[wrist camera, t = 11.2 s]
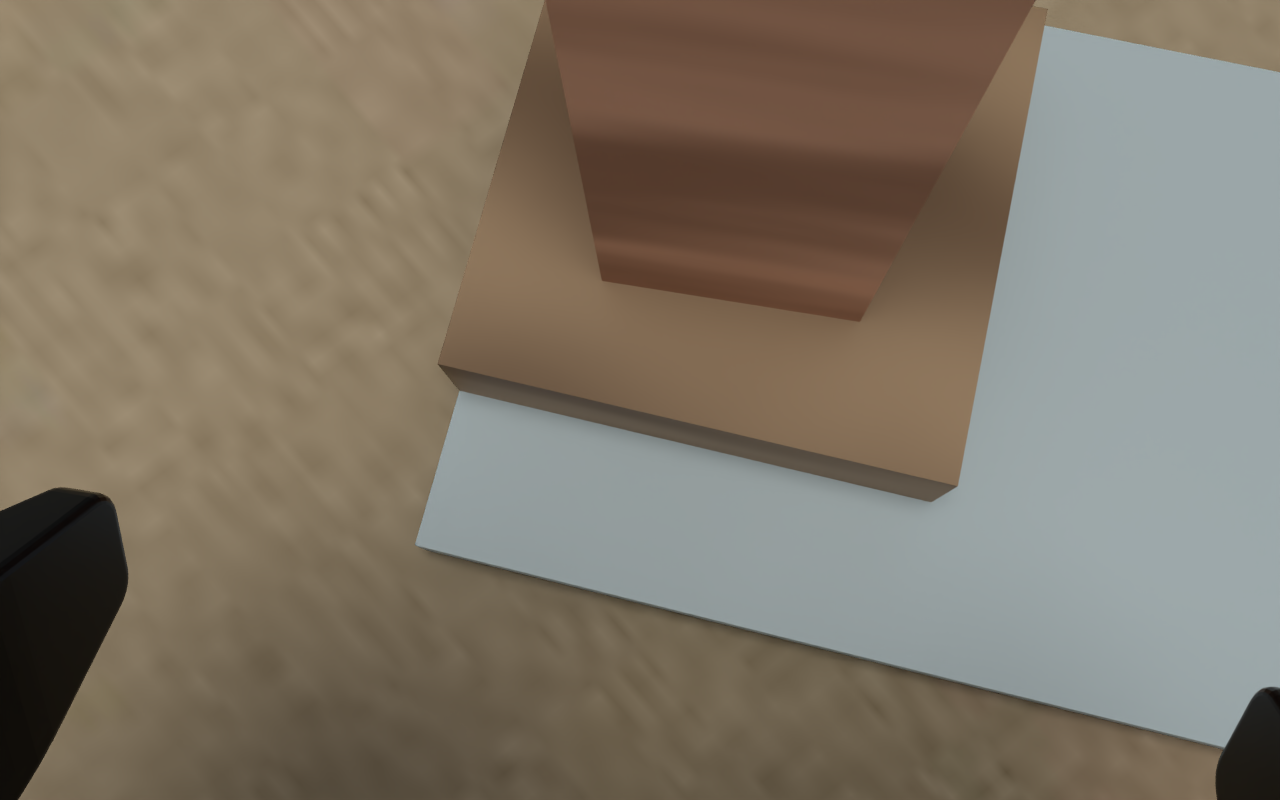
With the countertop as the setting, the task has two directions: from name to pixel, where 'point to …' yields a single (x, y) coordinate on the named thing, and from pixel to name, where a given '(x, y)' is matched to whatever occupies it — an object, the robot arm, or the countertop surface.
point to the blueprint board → (996, 441)
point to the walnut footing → (742, 313)
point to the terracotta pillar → (769, 136)
